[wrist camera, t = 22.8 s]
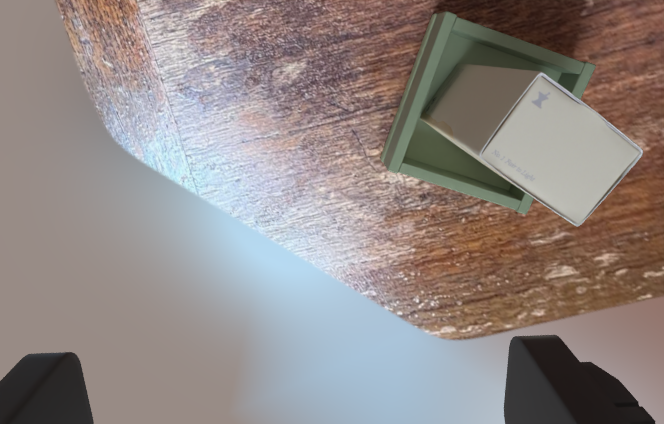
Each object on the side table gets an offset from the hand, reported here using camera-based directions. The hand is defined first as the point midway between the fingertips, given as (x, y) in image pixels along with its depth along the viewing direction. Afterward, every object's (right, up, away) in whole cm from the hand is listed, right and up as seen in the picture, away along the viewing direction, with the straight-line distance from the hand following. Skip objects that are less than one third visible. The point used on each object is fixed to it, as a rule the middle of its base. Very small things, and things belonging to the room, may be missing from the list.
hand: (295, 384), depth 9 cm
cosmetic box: (+10, +10, +24) cm, 27 cm away
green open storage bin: (+10, +10, +24) cm, 28 cm away
